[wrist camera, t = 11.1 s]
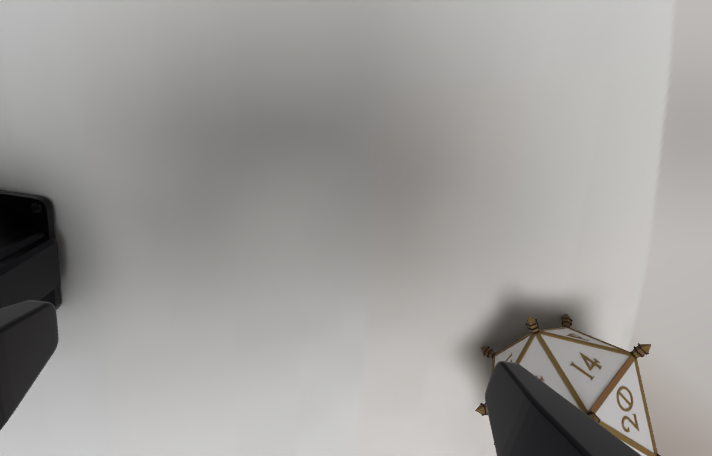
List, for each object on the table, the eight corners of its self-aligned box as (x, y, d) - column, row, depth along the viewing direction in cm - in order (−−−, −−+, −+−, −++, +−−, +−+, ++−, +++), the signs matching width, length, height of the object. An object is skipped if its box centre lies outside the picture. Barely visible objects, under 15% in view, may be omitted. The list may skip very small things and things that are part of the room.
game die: (487, 299, 28) (503, 286, 18) (630, 331, 25) (734, 336, 16) (461, 437, 26) (463, 502, 17) (610, 486, 24) (712, 594, 14)
